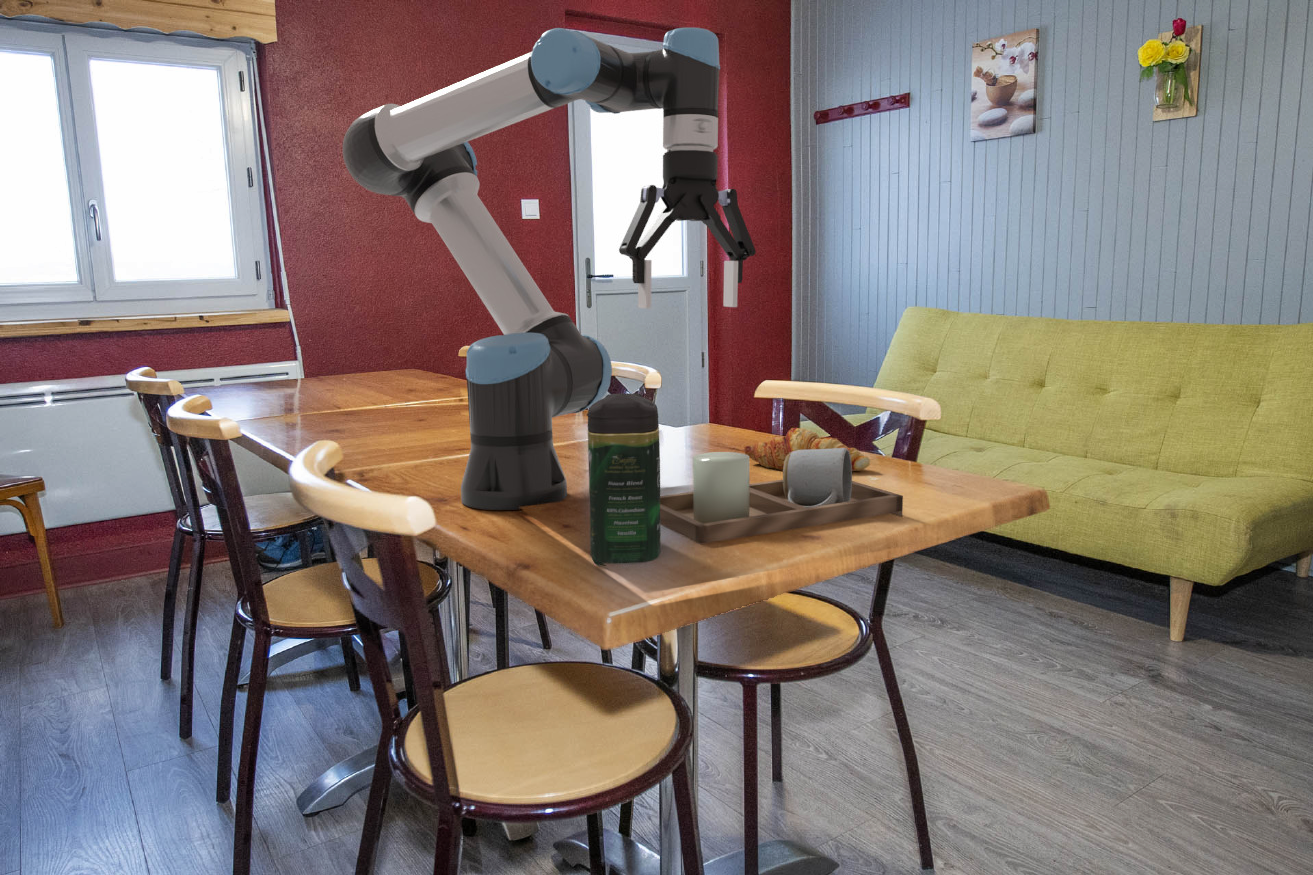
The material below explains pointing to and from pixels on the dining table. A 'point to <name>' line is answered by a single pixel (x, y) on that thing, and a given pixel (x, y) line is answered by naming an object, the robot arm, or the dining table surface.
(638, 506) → the coffee jar
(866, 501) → the caddy
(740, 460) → the pale green pillar candle
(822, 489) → the ceramic mug
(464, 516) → the dining table surface
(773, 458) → the croissant
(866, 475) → the dining table surface
